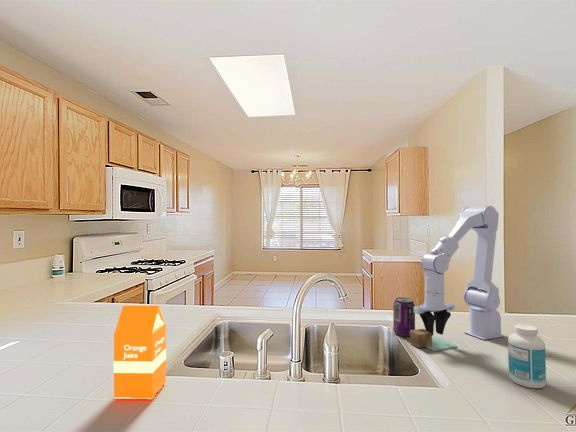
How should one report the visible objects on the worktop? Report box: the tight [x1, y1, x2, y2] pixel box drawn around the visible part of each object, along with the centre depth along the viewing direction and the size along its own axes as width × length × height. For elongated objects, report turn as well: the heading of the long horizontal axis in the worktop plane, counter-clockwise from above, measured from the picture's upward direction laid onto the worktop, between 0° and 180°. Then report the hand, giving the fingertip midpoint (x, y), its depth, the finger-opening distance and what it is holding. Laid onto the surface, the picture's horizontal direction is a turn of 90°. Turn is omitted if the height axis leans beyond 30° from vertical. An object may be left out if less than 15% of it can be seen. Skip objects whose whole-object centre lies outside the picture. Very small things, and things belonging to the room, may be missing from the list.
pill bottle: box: [507, 323, 547, 389], centre depth 81 cm, size 8×7×14 cm
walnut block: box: [409, 328, 433, 349], centre depth 104 cm, size 4×4×5 cm
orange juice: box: [113, 304, 167, 398], centre depth 77 cm, size 8×9×20 cm
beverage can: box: [392, 296, 416, 337], centre depth 115 cm, size 7×7×12 cm
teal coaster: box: [425, 335, 458, 352], centre depth 106 cm, size 9×9×1 cm
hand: (434, 334), depth 106 cm, fingers open, 3 cm apart
